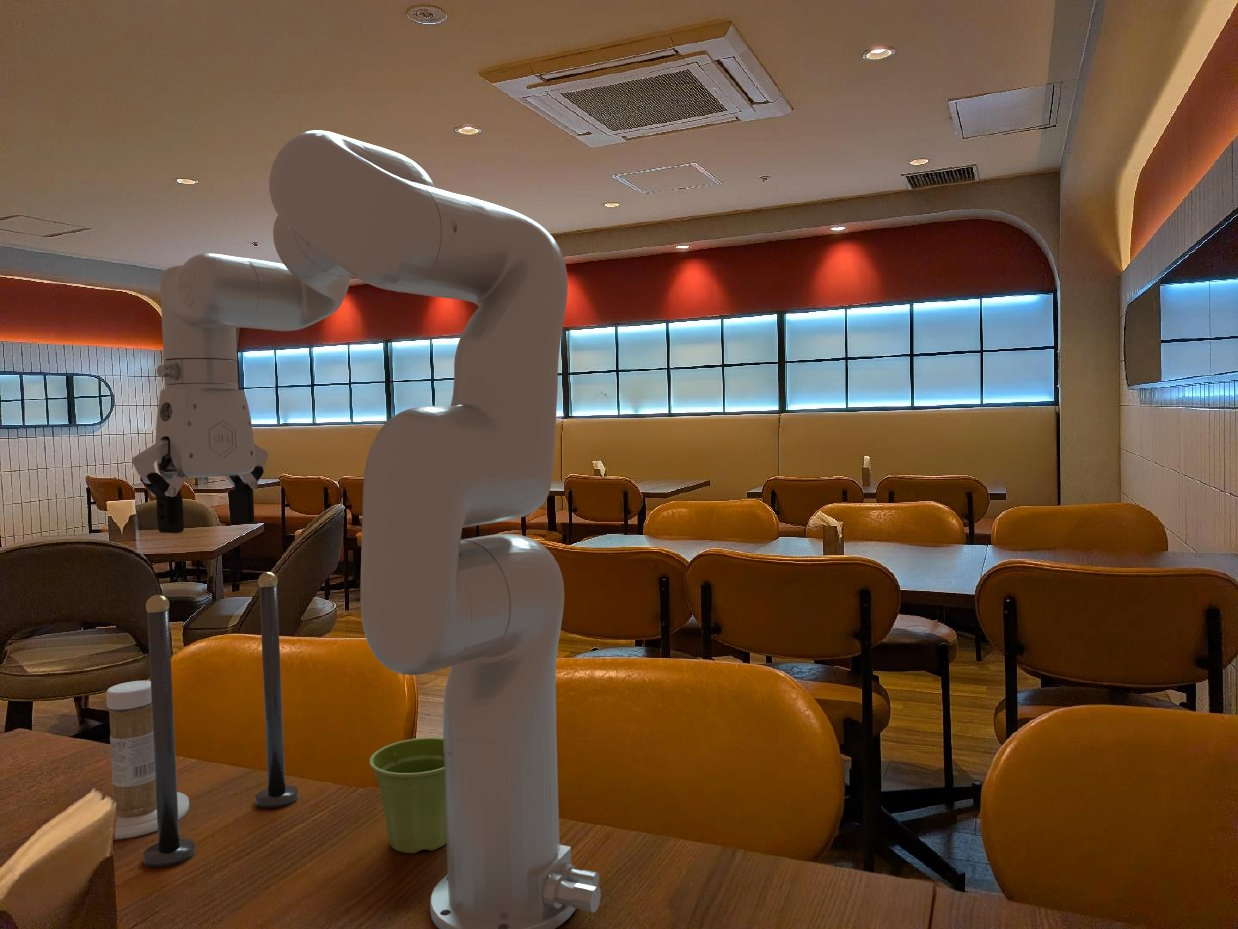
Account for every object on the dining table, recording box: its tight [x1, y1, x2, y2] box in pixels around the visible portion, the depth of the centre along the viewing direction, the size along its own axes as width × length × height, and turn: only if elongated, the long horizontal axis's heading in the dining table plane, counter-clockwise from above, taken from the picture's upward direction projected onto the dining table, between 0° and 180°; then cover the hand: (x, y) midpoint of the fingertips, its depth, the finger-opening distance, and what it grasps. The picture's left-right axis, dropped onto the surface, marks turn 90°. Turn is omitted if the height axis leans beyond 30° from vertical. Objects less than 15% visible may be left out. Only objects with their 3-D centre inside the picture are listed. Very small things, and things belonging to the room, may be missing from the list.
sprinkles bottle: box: [105, 680, 157, 817], centre depth 92 cm, size 5×5×13 cm
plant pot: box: [369, 737, 447, 854], centre depth 86 cm, size 9×9×9 cm
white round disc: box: [114, 791, 190, 840], centre depth 92 cm, size 10×10×1 cm
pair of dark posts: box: [142, 571, 299, 869], centre depth 89 cm, size 4×18×26 cm, turn 156°
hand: (208, 527), depth 99 cm, fingers open, 9 cm apart
